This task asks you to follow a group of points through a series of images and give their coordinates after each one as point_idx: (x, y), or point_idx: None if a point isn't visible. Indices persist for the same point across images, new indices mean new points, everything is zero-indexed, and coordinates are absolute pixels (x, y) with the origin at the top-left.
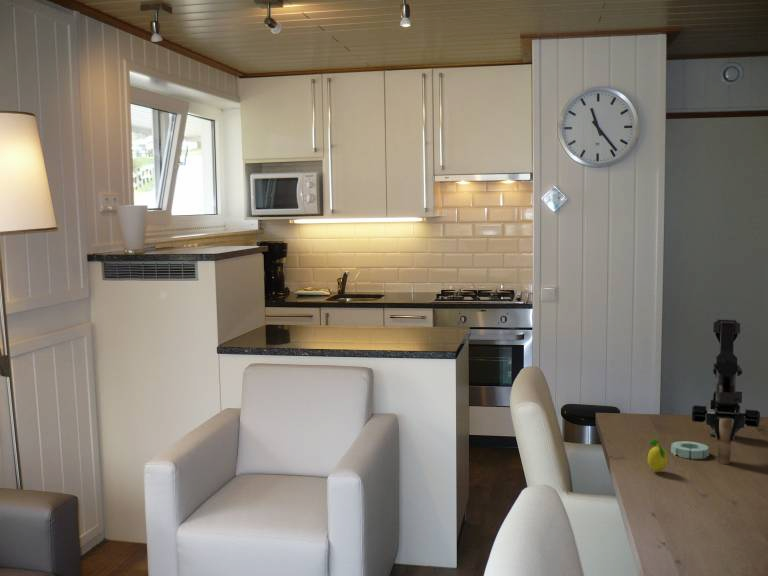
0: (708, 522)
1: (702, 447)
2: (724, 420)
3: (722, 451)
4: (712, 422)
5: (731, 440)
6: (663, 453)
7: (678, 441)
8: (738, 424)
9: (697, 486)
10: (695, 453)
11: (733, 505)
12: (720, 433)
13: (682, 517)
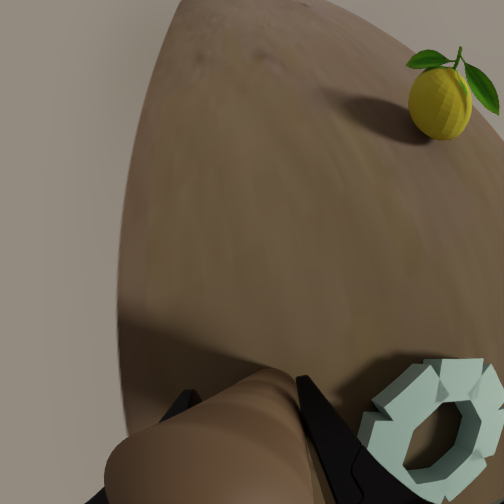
0: (232, 12)
1: (391, 463)
2: (198, 449)
3: (268, 374)
4: (403, 486)
5: (193, 390)
6: (419, 64)
7: (484, 467)
8: (93, 499)
9: (289, 82)
10: (409, 378)
11: (200, 50)
12: (282, 402)
13: (267, 8)
